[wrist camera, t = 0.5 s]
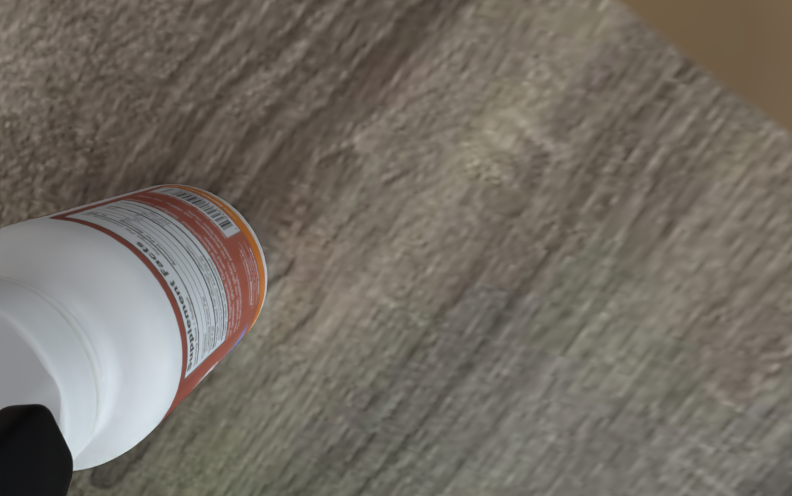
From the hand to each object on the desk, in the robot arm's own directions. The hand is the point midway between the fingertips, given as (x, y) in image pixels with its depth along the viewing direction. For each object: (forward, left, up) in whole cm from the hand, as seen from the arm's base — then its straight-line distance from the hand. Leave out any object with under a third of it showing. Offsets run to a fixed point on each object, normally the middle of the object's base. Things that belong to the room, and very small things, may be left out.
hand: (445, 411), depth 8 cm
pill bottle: (-8, +6, -16) cm, 19 cm away
